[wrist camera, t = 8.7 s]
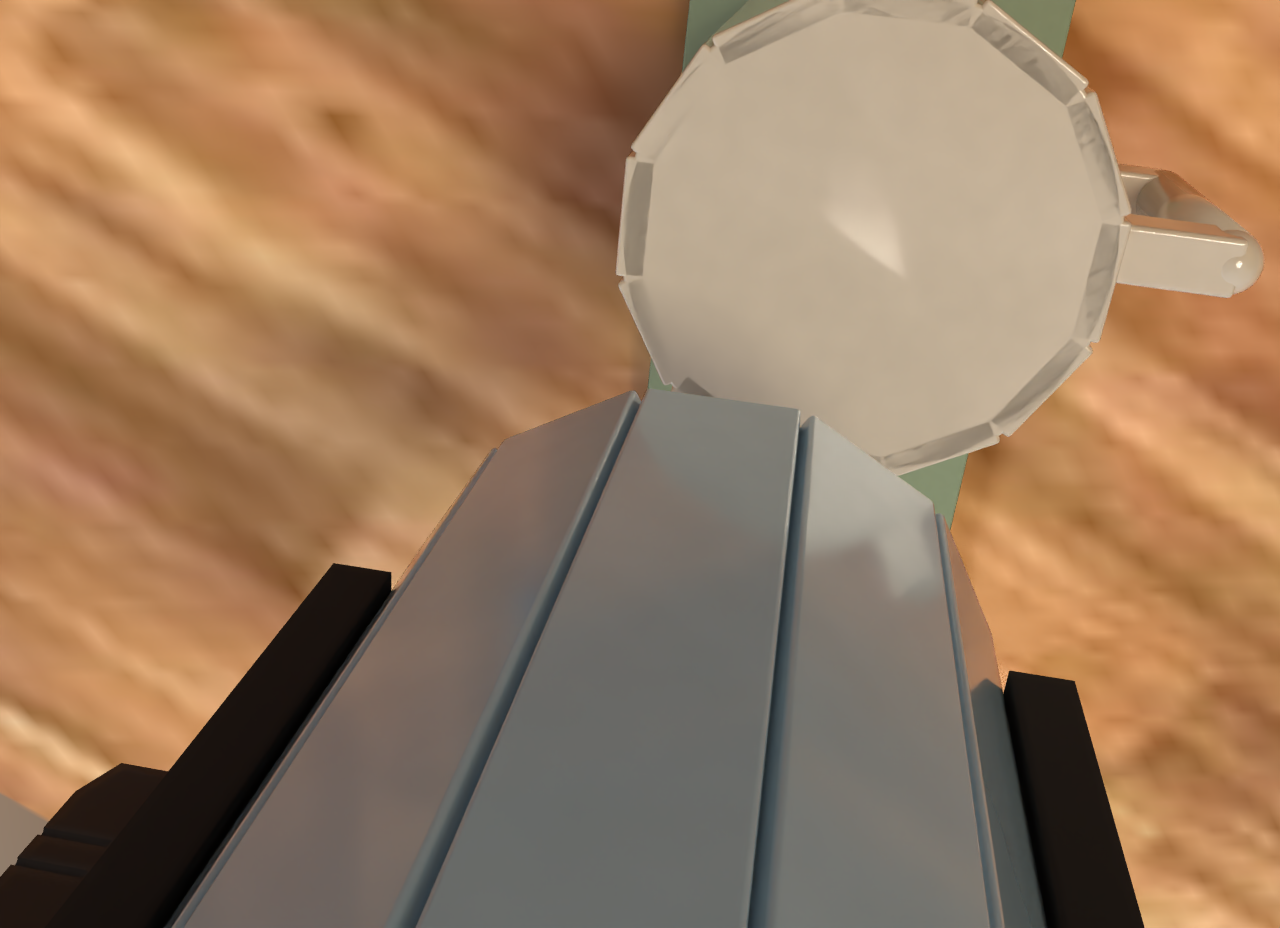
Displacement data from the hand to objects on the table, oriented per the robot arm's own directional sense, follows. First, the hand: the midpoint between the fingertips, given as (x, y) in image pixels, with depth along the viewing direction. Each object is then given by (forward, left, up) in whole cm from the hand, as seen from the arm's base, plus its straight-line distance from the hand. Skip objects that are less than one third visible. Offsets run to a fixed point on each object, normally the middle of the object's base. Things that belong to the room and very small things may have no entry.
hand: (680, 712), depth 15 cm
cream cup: (+3, +5, -16) cm, 17 cm away
